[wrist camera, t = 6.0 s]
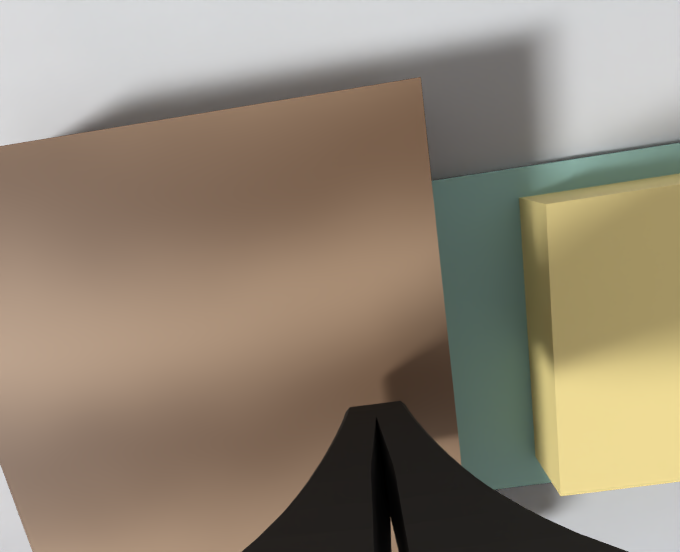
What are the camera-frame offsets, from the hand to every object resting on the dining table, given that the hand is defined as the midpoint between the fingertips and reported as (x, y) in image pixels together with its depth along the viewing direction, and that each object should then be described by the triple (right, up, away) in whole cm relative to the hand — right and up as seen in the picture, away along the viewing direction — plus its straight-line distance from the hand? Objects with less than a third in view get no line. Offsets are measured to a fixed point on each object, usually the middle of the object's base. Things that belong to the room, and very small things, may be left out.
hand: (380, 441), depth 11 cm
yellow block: (+8, +2, +2) cm, 9 cm away
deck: (-4, +1, +5) cm, 6 cm away
